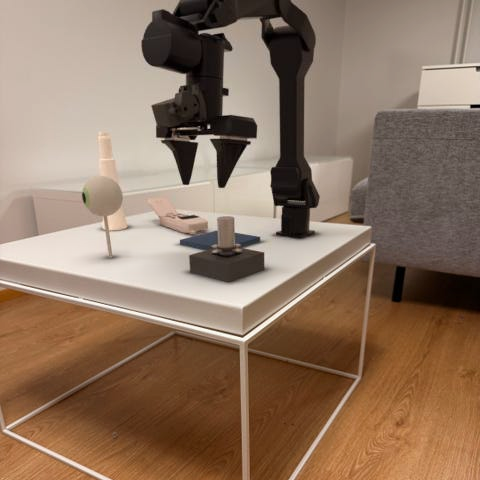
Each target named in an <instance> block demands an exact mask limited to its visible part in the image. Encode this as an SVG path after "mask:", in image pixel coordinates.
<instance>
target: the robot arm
mask: <svg viewBox="0 0 480 480" xmlns="http://www.w3.org/2000/svg"><path fill="white" fill-rule="evenodd" d="M279 18H281V20H282V21H283V22H284V23H286V24H287V25H281V26H276V27H273V25H272V23H271V20H272V19H273V20H274V19H279ZM243 20H245V21H247V20H259V21H260V23H261V35H260V37H261V39H262V41H263V43H264V45H265V46H266V49H267V50H268V51H269V62H270V66H271V68H272V69H273V71H274V73H275V74H276V76H277V78H278V91H279V92H278V93H279V94H278V101H279V103H278V105H279V109H278V110H279V113H278V114H279V159H278V161H277V162H276V164H275V166H272V167H271V168H270V173H269V174H270V184H269V187H270V190H271V195H272V200H273V205H274V207H281V214H280V230H278V231H276V232H275V235H276V236H277V235H278V236H284V237H290V238H296V239H297V238H298V239H300V238H301V239H302V238H304V237H306V236H310V235H313V234H315V233H316V230H312V229H310V222H311V220H310V219H311V218H310V217H311V209H316V208H318V206H319V203H320V197H321V195H320V194H319V191H318V190H317V188H316V185H315V183H314V181H313V172H312V168H311V165H310V164H309V163H308V161H307V159H306V157H305V78H306V76H307V74H308V72H309V70H310V68H311V66H312V65H313V62H314V55H315V48H316V44H317V43H316V42H317V37H316V33H315V29H314V27H313V26H312V23H311V21H310V19H309V16H308V15H307V13H305V12H304V11H303V10H302V9H300V8H299V7H298V6H297V5H296V4H294V2H292V0H179V1H178V2H177V5H176V6H175V7H174V10H173V12H172V13H171V12H170V11H168V10H166V9H164V8H162V9H157V10H153V11H152V12H151V21H150V22H149V23H148V25H147V27H146V28H145V29H144V33H143V37H142V39H141V40H140V41H141V45H140V46H141V47H140V48H141V53H142V57H143V58H144V60H145V62H146V63H147V64H148V65H149V66H150V67H153V68H158V69H161V70H164V71H165V70H166V71H169V72H173V73H176V74H180V75H185V84H183V85H180V86H179V88H178V92H176V93H175V94H174V97H173V98H169V99H166V100H163V101H160V102H157V103H154V104H151V105H150V106H151V111H152V114H153V117H154V121H155V124H156V125H155V138H157V139H160V142H161V143H162V144H163V145H165V146H166V147H167V148H168V149H169V150H170V151H171V153H172V155H173V158H174V161H175V163H176V167H177V170H178V173H179V177H180V180H181V182H182V185H183V186H189V185H190V183H191V180H192V177H193V176H192V175H193V172H194V171H193V170H194V166H195V162H196V157H197V151H198V147H199V142H197V141H196V139H197V137H198V136H214V137H219V138H209V141H210V143H211V145H212V147H213V148H214V150H215V152H216V180H217V187H218V188H219V189H225V188H226V186H227V184H228V182H229V180H230V178H231V176H232V174H233V172H234V170H235V168H236V166H237V163H238V161H239V160H240V158H241V157H242V155H243V154H244V152H245V150H246V148H247V146H250V145H251V143H252V141H251V140H252V139H253V140H254V139H255V140H256V139H258V124H257V122H256V120H255V118H254V117H249V116H242V115H236V114H226V115H224V114H223V108H224V106H223V105H224V97H230V95H229V94H230V89H229V87H228V88H227V87H224V69H225V68H224V67H225V66H224V65H225V64H224V63H225V53H231V52H232V51H233V49H234V48H233V45H232V43H231V42H230V41H229V40H228V39H227V37H226V36H225V33H224V32H219V33H218V32H217V33H213V34H211V33H208V32H205V31H211V30H214V29H221V28H225V27H226V28H227V27H229V26H231V25H233V24H235V23H237V22H238V21H243ZM203 31H204V32H203ZM200 32H202V33H200Z"/></svg>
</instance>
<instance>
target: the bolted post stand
mask: <svg viewBox="0 0 480 480" xmlns="http://www.w3.org/2000/svg"><path fill="white" fill-rule="evenodd" d="M216 229H217V230H218V245H212V247H213V248H217V249H216V250H213V251H212V253H219V256H221V257H225V258H229V257H232V256H235V252H242V250H241V249H237V247H240V246H241V245H240V244H235V233H236V232H235V216H229V215H224V216H222V215H221V216H218V217H217V218H216ZM240 248H241V247H240Z"/></svg>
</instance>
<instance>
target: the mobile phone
mask: <svg viewBox="0 0 480 480" xmlns="http://www.w3.org/2000/svg"><path fill="white" fill-rule="evenodd" d="M146 202H147V204H148V205H149V206H150V207H151V209H152V210H153V211H154V213H155V214H156V215H157V217H158V218H159V223H160V224H161V226H163V227H166V228H168V229H171V230H175V231H177V232H180V233H183V234H190V235H193V236H197V235H198V232H199V231H207V230H208V228H209V226H208V225H209V223H208V222H209V221H208V220H207V219H205V218H204V217H202V216H200V215H196V214H191V215H189V214H185V213H180V212H178V211H177V209H176V208H175V206H174V205H173V204H172V203H171V201H170V199H169V198H168V196H165V195H164V196H156V197H151V198H146Z"/></svg>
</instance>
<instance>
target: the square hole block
mask: <svg viewBox="0 0 480 480" xmlns="http://www.w3.org/2000/svg"><path fill="white" fill-rule="evenodd" d="M216 249H217V248H213V249H209V250H203V251H199V252H194V253H191V254H189V255H188V263H189V273H191V274H196V275H199V276H204V277H206V278H211V279H215V280H218V281H221V282H222V281H223V282H226V283H231V282H234V281H237V280H239V279H242V278H244V277H247V276H251V275H253V274H255V273H259V272H260V271H264V270H265V252H264V251H259V250H254V249H248V248H244V247H240V248H239V247H237V249H241V250H242V252H235V256H232V257H229V258H225V257H221V256H219V253H212V251H213V250H216Z"/></svg>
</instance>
